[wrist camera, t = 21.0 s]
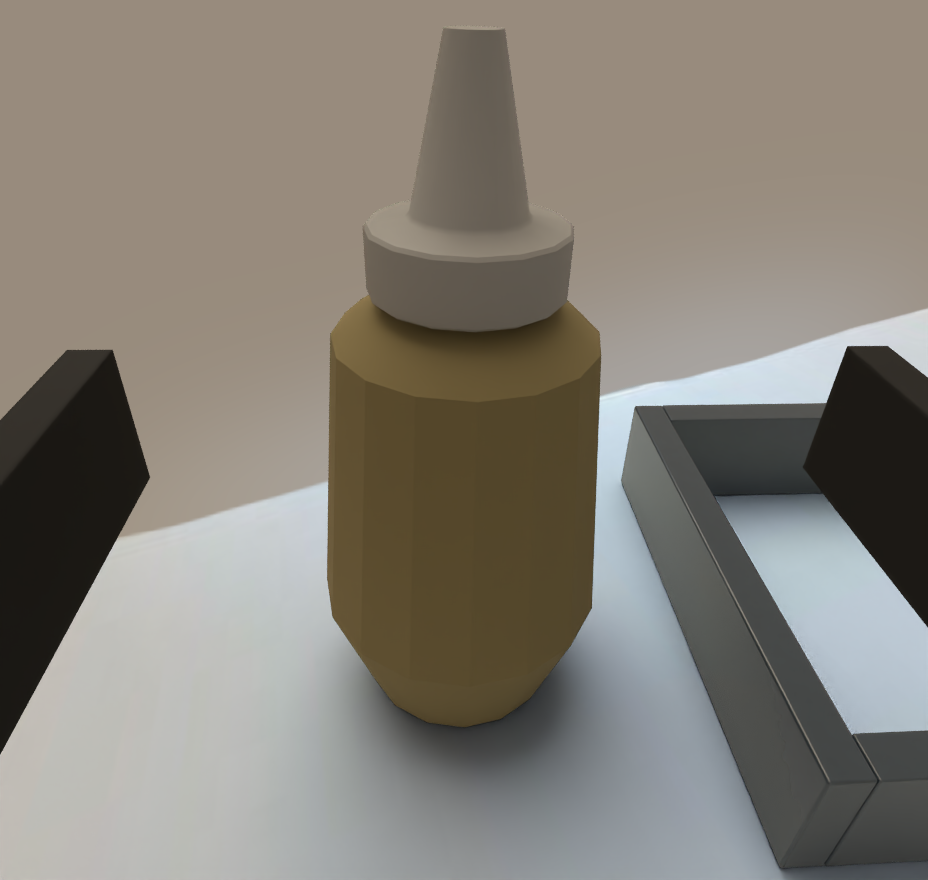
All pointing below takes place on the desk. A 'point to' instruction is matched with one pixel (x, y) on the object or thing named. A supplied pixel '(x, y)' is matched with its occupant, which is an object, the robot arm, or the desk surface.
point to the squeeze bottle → (464, 419)
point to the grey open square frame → (767, 639)
